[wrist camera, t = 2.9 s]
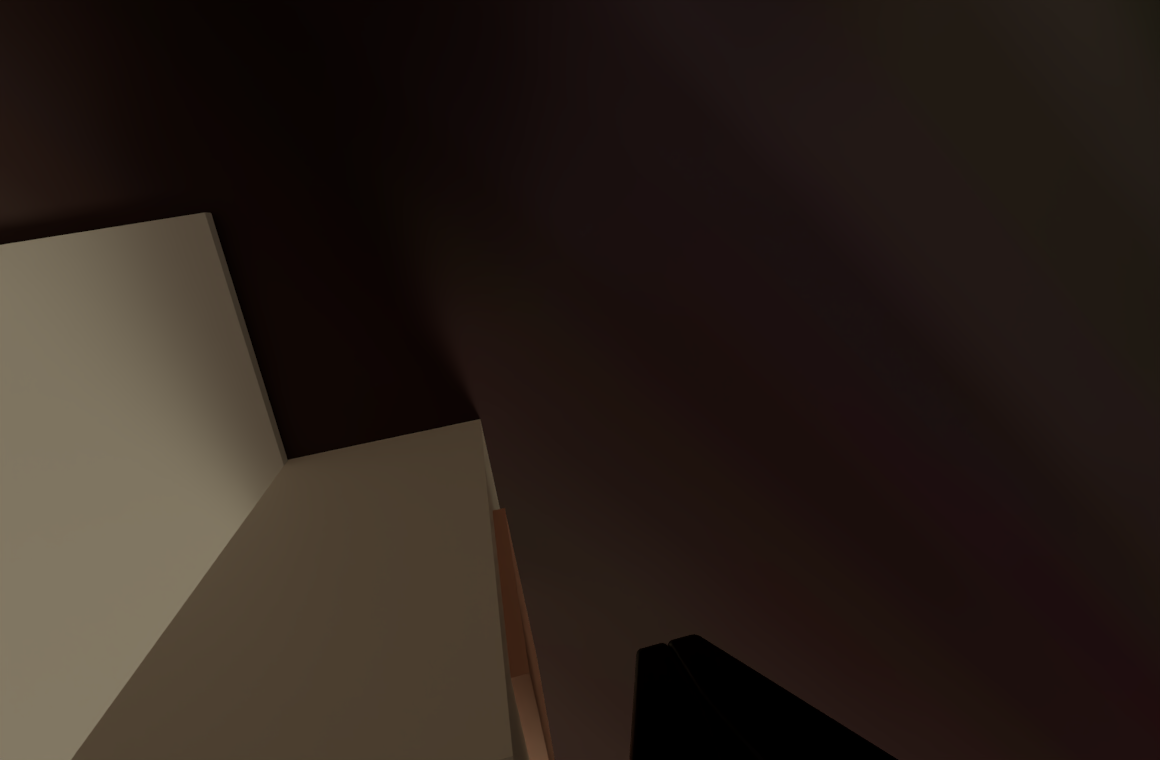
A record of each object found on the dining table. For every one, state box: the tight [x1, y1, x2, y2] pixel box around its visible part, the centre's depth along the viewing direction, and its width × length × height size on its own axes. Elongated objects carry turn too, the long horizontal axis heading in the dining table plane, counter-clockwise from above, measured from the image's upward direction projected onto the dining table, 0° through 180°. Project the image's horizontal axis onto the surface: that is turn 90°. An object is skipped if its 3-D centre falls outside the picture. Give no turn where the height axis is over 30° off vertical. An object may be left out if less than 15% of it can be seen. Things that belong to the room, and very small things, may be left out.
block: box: [71, 419, 555, 760], centre depth 10 cm, size 4×4×9 cm
